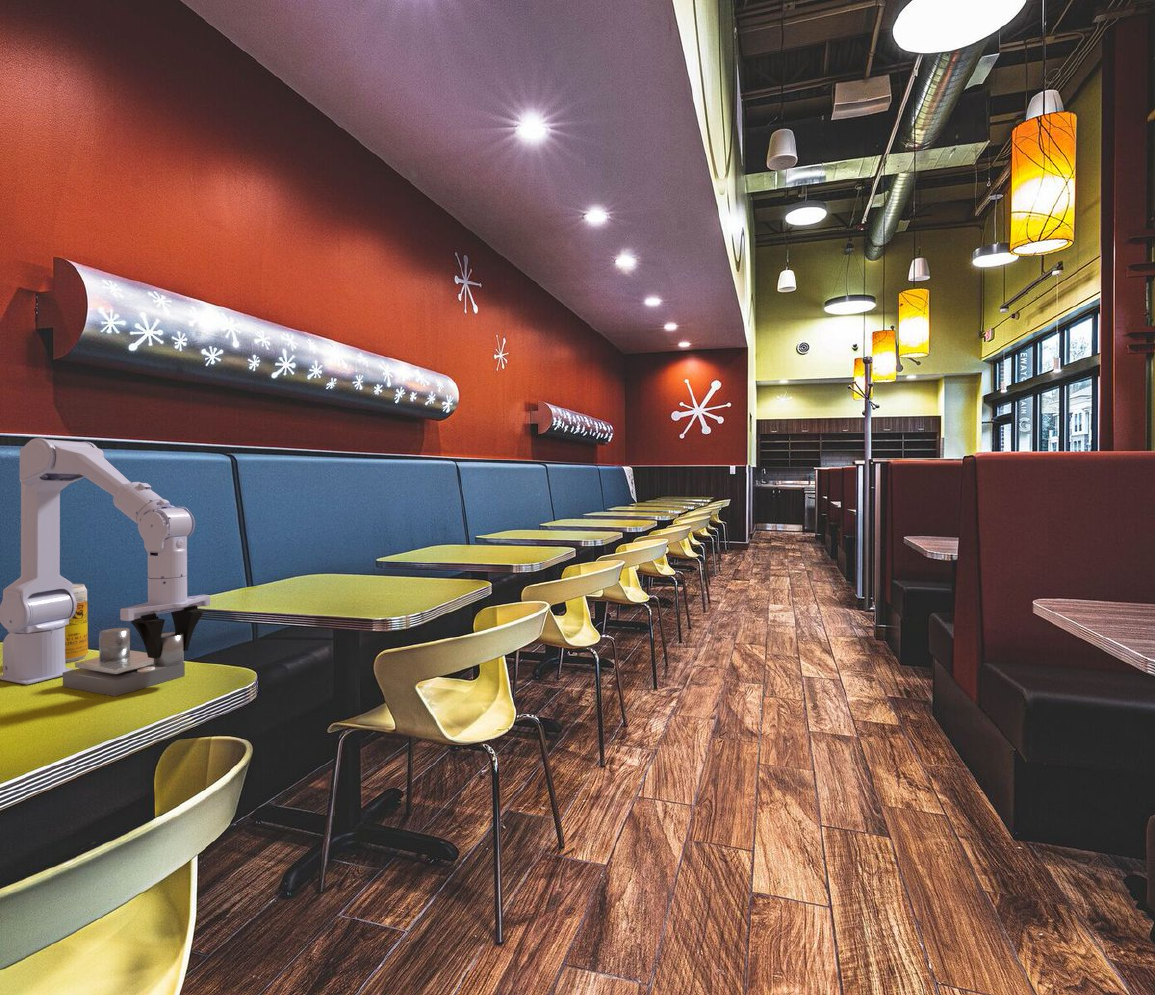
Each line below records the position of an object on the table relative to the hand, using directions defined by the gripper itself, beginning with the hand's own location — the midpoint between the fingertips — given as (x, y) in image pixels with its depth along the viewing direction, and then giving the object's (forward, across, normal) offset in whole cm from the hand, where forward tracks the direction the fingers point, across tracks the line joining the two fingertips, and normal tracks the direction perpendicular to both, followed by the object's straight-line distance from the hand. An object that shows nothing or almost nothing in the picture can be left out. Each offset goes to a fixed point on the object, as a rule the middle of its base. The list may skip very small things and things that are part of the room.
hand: (168, 653), depth 106 cm
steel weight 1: (+2, -1, +13) cm, 13 cm away
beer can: (+6, +4, +35) cm, 36 cm away
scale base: (+6, -1, +9) cm, 11 cm away
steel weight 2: (+2, 0, 0) cm, 2 cm away
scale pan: (+3, -1, +11) cm, 11 cm away
